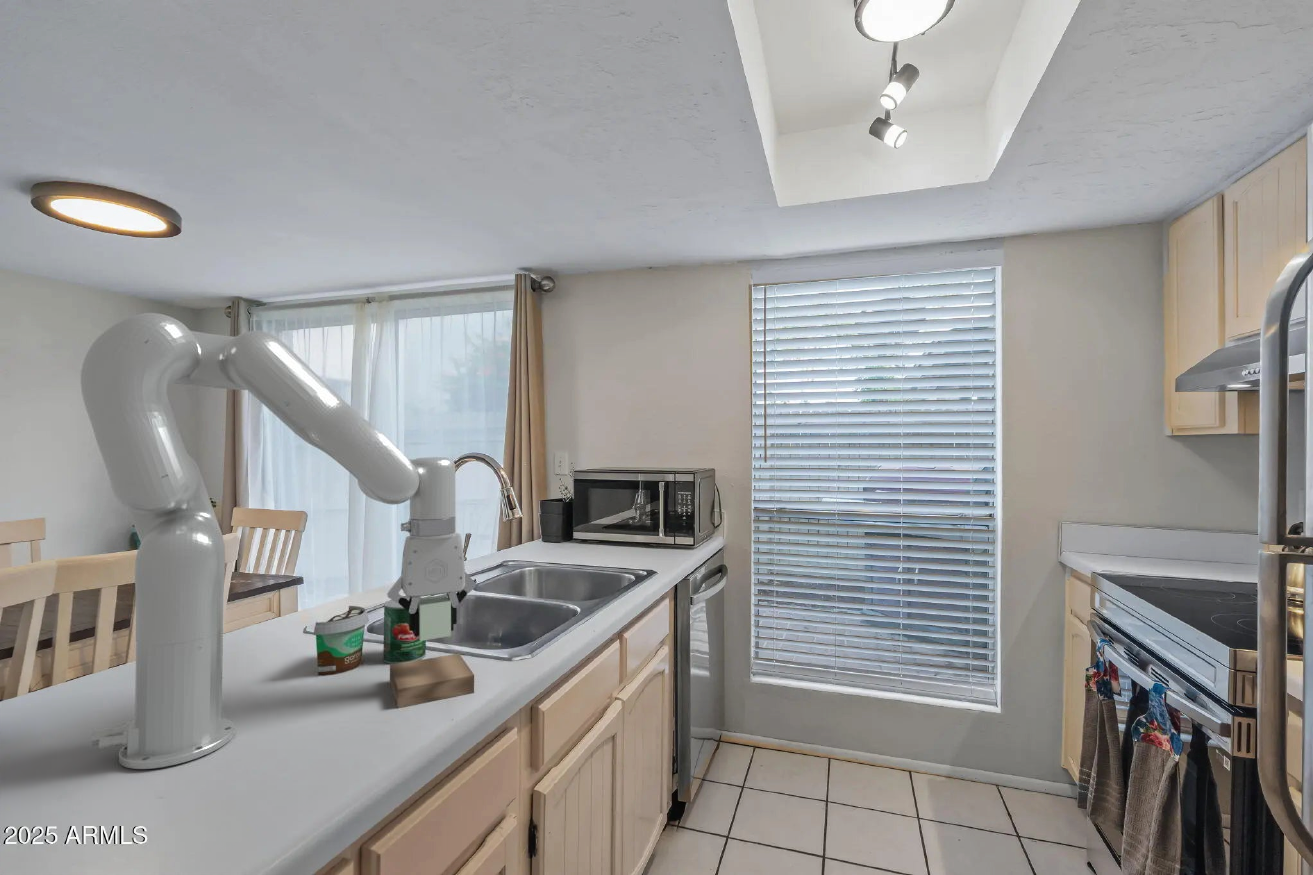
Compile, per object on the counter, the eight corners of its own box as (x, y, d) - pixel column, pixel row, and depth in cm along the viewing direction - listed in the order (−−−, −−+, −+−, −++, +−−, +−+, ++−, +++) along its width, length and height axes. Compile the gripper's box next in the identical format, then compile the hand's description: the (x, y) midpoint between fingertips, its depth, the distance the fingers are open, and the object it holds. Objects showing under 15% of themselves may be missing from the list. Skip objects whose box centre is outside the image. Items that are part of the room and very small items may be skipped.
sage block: (420, 640, 100) (420, 605, 100) (415, 632, 104) (415, 598, 104) (450, 635, 103) (450, 601, 103) (445, 628, 107) (445, 594, 107)
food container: (346, 679, 106) (347, 623, 107) (313, 678, 107) (313, 623, 107) (380, 655, 119) (380, 605, 119) (349, 654, 119) (350, 604, 119)
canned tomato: (406, 666, 113) (407, 608, 113) (373, 661, 115) (374, 604, 115) (434, 652, 120) (435, 598, 120) (403, 648, 123) (403, 595, 123)
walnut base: (398, 707, 95) (398, 689, 95) (389, 681, 105) (389, 664, 105) (474, 692, 101) (474, 674, 101) (459, 669, 111) (459, 653, 111)
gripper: (381, 534, 96) (382, 646, 96) (487, 526, 105) (487, 629, 105) (377, 528, 103) (377, 633, 102) (477, 521, 111) (477, 618, 111)
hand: (433, 630), depth 103 cm, fingers closed on sage block, 5 cm apart
